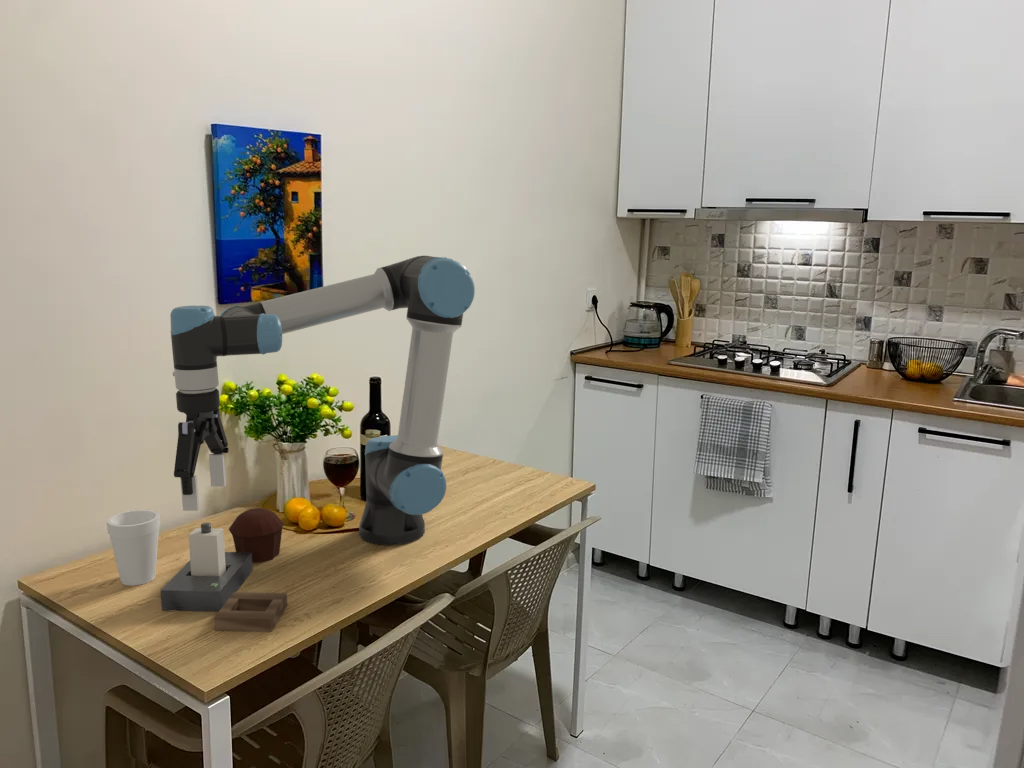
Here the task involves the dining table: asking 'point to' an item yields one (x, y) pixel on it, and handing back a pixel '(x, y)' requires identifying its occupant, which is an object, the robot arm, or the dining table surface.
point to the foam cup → (135, 545)
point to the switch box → (206, 586)
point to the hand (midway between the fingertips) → (205, 497)
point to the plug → (207, 551)
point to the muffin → (257, 534)
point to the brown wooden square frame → (251, 612)
